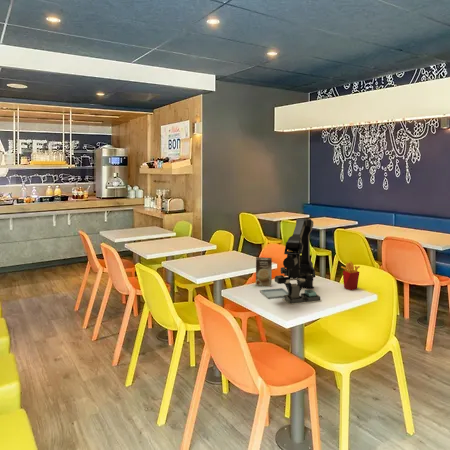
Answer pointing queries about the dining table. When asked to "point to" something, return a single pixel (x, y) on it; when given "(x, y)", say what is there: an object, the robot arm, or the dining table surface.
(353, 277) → the french fries
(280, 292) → the tray
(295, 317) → the dining table surface
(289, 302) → the double socket holder
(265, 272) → the coffee box
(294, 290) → the block
